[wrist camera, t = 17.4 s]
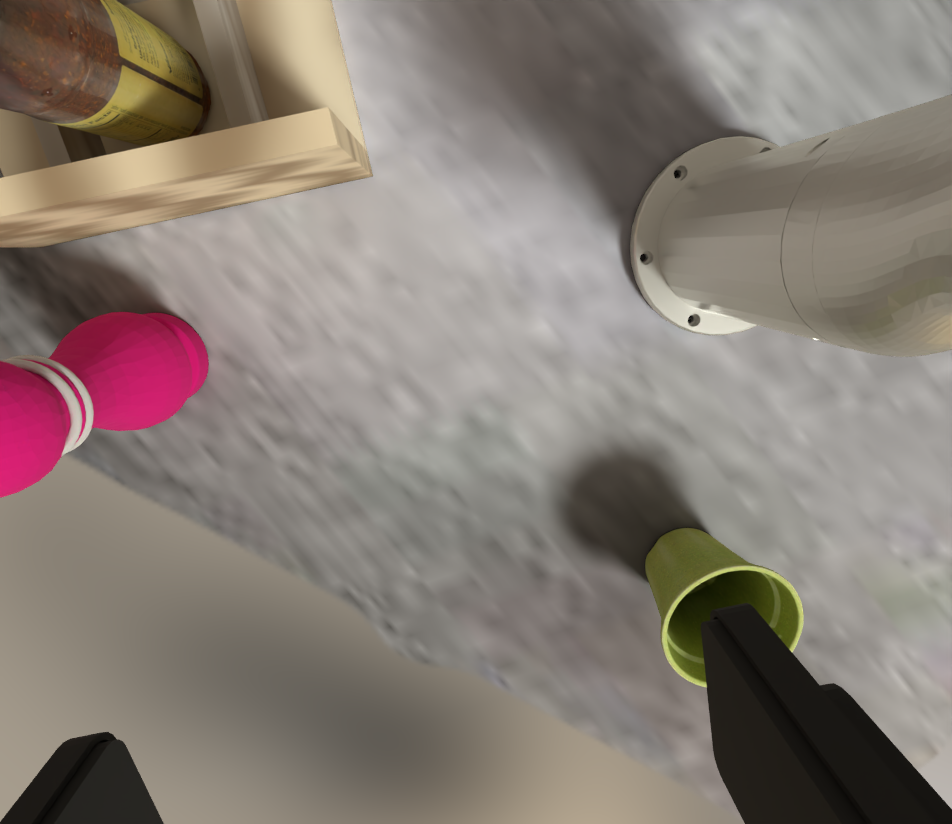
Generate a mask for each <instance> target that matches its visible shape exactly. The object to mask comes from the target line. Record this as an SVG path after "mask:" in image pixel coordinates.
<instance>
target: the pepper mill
mask: <svg viewBox="0 0 952 824" xmlns="http://www.w3.org/2000/svg"><path fill="white" fill-rule="evenodd" d="M208 365H209V363H208V354H207V351H206V348H205V345H204V343H203V341H202V340H201V338H200V336H199V335H198V334H197V333H196V332H195V331H194V329H193V328H192V327H190V326H189V325H188V324H187V323H185V322H184V321H182V320H180V319H178V318H177V317H174V316H171V315H168V314H163V313H146V314H142V315H141V314H137V313H130V312H112V313H107V314H103V315H100V316H97V317H95V318H92V319H90V320H87V321H85V322H83V323H82V324H80V325H78V326H77V327H76V328H74V329H73V330H72V331H71V332H70V333H68V334H67V335H66V336H65V337H64V338H63V339H62V341H61V342H60V343H59V345H58V347H57V348H56V350H55V351H54V352H53V354H52V355H51V356H50V357H49V358H45V357H40V356H33V355H22V356H16V357H12V358H9V359H6V360H1V361H0V497H4V496H7V495H11V494H14V493H17V492H19V491H21V490H23V489H25V488H27V487H29V486H31V485H33V484H34V483H36V482H38V481H39V480H41V479H42V478H43V477H44V476H45V475H46V474H48V473H49V472H50V471H51V470H52V469H53V467H54V466H55V465H56V463H57V462H58V460H59V459H60V458H61V456H62V455H64V454H65V453H67V452H70V451H72V450H74V449H75V448H77V447H78V446H79V445H81V444H82V442H83V441H84V440H85V439H86V438H87V436H88V435H89V433H90V431H91V429H92V428H101V429H106V430H116V431H125V430H139V429H144V428H148V427H151V426H153V425H156V424H158V423H160V422H163V421H165V420H167V419H168V418H170V417H171V416H173V415H174V414H175V413H176V412H177V411H178V410H179V409H180V408H181V407H182V406H183V404H184V403H185V401H186V400H187V398H189V397H191V396H192V395H193V394H195V393H196V392H197V391H198V390H199V389H200V387H201V386H202V385H203V383H204V381H205V379H206V377H207V373H208Z"/></svg>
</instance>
